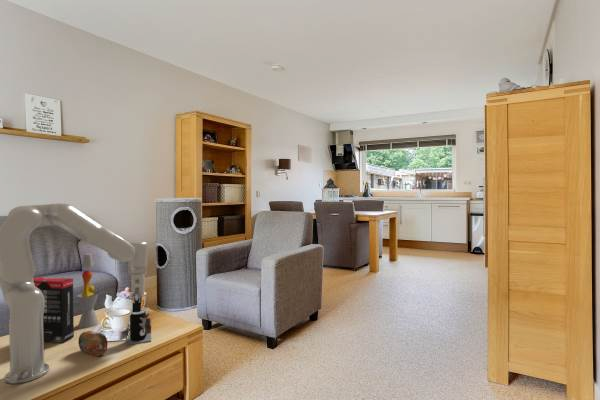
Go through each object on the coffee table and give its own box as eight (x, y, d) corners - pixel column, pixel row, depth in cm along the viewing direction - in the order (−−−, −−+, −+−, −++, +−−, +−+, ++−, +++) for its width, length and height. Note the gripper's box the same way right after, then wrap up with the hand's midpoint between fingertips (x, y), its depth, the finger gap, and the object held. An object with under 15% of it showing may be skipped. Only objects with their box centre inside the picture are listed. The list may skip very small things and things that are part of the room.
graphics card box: (75, 337, 155) (74, 277, 155) (63, 344, 148) (62, 280, 148) (40, 335, 157) (39, 276, 156) (26, 342, 150) (26, 279, 149)
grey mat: (151, 341, 151) (151, 340, 151) (125, 345, 147) (125, 344, 147) (151, 333, 159) (151, 332, 159) (126, 337, 155) (126, 336, 155)
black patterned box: (151, 333, 159) (151, 325, 159) (126, 337, 155) (126, 328, 155) (151, 326, 168) (151, 317, 168) (128, 329, 164) (128, 320, 164)
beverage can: (135, 342, 148) (135, 315, 148) (126, 339, 151) (126, 312, 151) (149, 337, 154) (149, 310, 153) (140, 334, 157) (140, 308, 157)
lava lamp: (88, 328, 165) (87, 255, 164) (72, 327, 167) (72, 255, 166) (103, 322, 173) (102, 252, 173) (88, 320, 176) (87, 252, 175)
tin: (77, 351, 142) (77, 330, 141) (85, 348, 144) (85, 328, 144) (101, 358, 135) (101, 337, 135) (109, 355, 138) (109, 334, 138)
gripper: (146, 273, 146) (146, 313, 145) (147, 265, 161) (146, 302, 161) (127, 274, 143) (126, 315, 143) (129, 266, 159) (128, 303, 158)
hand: (137, 308), depth 152 cm, fingers open, 9 cm apart
